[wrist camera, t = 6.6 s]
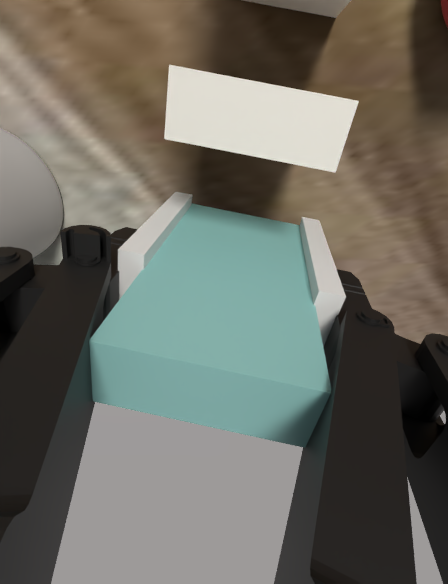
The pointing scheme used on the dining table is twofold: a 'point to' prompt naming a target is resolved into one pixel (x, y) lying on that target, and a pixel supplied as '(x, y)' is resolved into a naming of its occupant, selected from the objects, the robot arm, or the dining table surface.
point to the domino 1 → (309, 5)
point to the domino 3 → (219, 331)
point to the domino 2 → (257, 118)
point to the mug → (27, 198)
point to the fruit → (445, 10)
